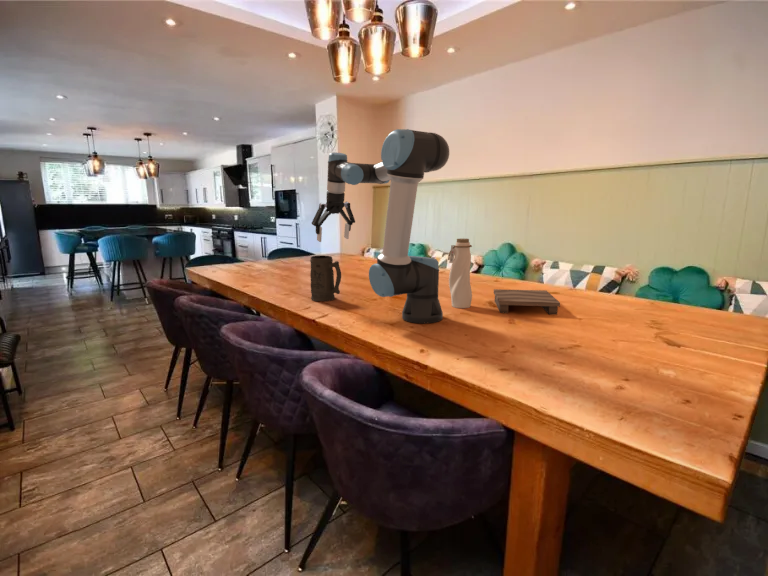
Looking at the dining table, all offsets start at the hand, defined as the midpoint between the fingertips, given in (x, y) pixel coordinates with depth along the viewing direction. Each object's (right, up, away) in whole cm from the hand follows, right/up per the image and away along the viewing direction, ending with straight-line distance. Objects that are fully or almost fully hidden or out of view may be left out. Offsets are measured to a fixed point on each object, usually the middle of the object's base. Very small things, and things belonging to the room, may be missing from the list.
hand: (333, 239), depth 172 cm
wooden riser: (+80, -30, -13) cm, 86 cm away
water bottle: (+54, -29, -10) cm, 62 cm away
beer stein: (-3, -27, +5) cm, 28 cm away
